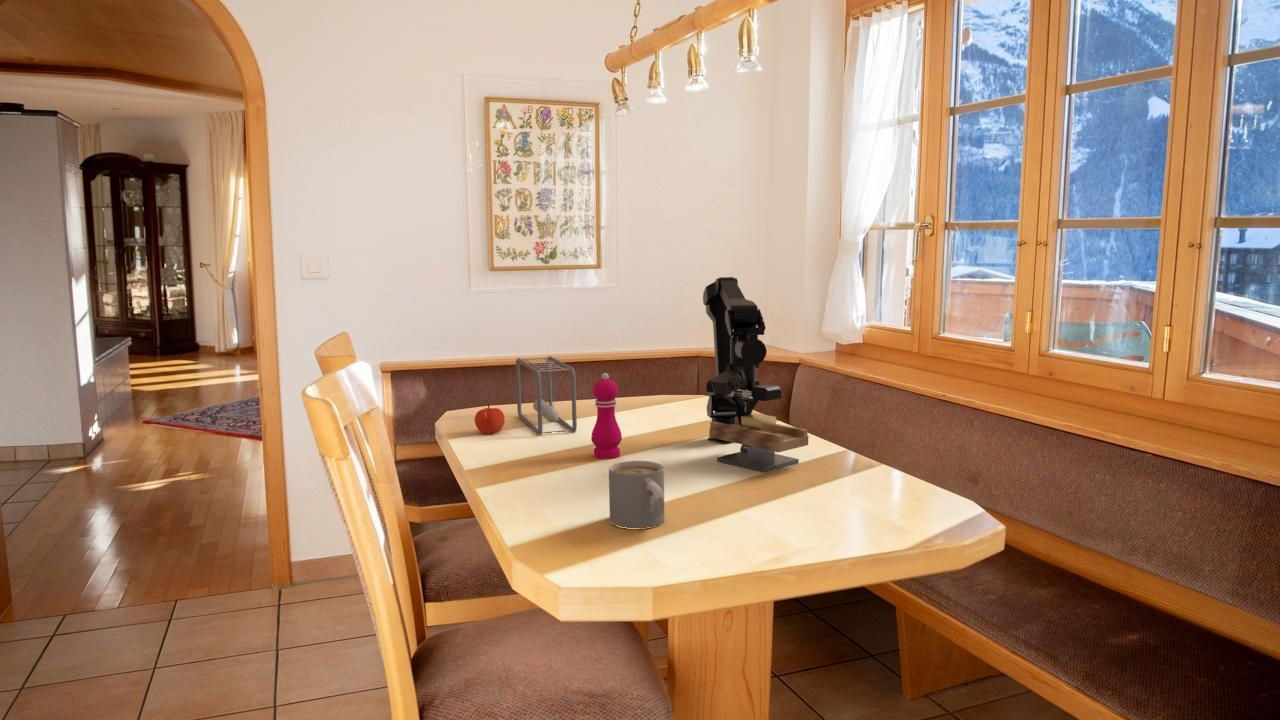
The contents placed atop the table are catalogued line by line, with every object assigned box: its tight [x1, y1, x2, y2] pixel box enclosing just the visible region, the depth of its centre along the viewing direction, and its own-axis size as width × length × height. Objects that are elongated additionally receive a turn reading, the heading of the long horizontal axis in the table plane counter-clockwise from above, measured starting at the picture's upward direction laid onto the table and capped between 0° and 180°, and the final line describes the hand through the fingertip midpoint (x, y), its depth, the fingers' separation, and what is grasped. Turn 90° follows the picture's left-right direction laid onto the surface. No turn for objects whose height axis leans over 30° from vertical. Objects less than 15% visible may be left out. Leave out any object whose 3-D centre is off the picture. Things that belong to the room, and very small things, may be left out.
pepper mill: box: [590, 372, 623, 460], centre depth 205 cm, size 7×7×20 cm
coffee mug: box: [608, 460, 666, 528], centre depth 155 cm, size 13×10×10 cm
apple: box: [474, 403, 506, 435], centre depth 233 cm, size 8×8×8 cm
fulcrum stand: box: [716, 444, 800, 474], centre depth 198 cm, size 14×12×5 cm
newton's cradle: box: [515, 355, 578, 436], centre depth 243 cm, size 30×10×18 cm, turn 19°
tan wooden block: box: [741, 412, 777, 433], centre depth 197 cm, size 6×5×4 cm
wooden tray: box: [708, 417, 809, 453], centre depth 197 cm, size 21×10×4 cm, turn 40°
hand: (742, 425), depth 200 cm, fingers closed
